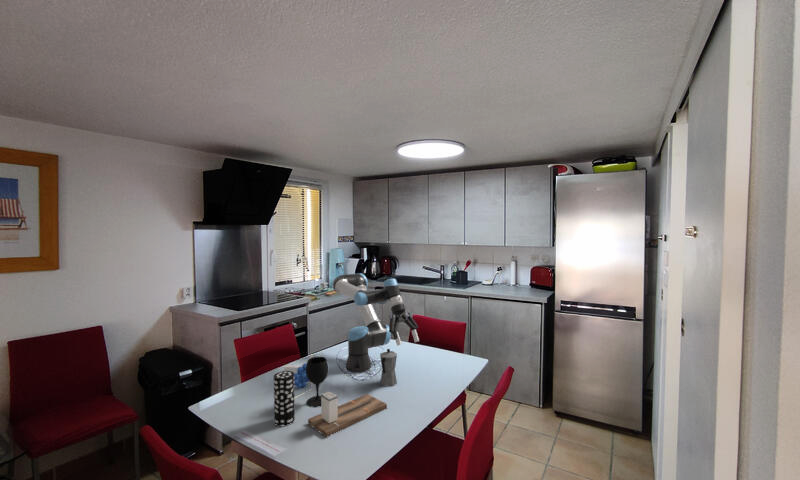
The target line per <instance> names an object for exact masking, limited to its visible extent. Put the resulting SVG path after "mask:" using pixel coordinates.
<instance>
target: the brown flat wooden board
mask: <svg viewBox="0 0 800 480" xmlns="http://www.w3.org/2000/svg"><path fill="white" fill-rule="evenodd" d="M337 406H338V420H336V421H334V422H331V423H328V422H327V421H325V420H324V419H322V415H321V413H319V414H317V415H314V416H313V417H310V418H308V419H307V423H309V424H310V427H312V426H313V427H314V428H313V427H312V428H313V429H314V430H316V429H317V430H318V431H317V430H316V431H317V432H319V431H320V432H321V433H322V434H323V435H322V434H321V433H320V432H319V433H320V434H321V435H322V436H324V435H325V436H326V437H327V436H329V437H331V436H332V435H331V434H333V435H335V434H337V433H339V432H341V431H343V430H345V429H348V428H349V427H351V426H354V425H355V424H357V423H359V422H361V421H364V420H366V419H367V418H369V417H371V416H373V415H377V414H378V413H380V412H383V411H385V410H386V409H387V408H388V404H387V403H386V402H383V401H382V400H380V399H378V398H376V397H375V396H372V395H370V394H368V393H366V394H364V395H360V397H357V398H355V399H352V400H350V401H347V402H345V403H342V404H341V405H337ZM309 424H308V425H309ZM342 429H343V430H342ZM340 430H341V431H340ZM338 431H339V432H338ZM336 432H337V433H336ZM334 433H335V434H334ZM330 435H331V436H330ZM325 436H324V437H325ZM326 437H325V438H326ZM327 438H328V437H327Z"/></svg>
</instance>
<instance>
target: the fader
mask: <svg viewBox="0 0 800 480" xmlns="http://www.w3.org/2000/svg"><path fill="white" fill-rule="evenodd" d="M320 396H321V406H320V407H321V409H320V410H321V413H320V414H321V415H322V419H324V420H325V421H327V422H328V423H331V422H334V421H336V420H338V406H339V405H338V398H339V397H338V395H336V394H335V393H334V392H331V391H330V390H329V391H326V392H324V393H321V394H320Z"/></svg>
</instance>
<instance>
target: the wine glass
mask: <svg viewBox="0 0 800 480" xmlns="http://www.w3.org/2000/svg"><path fill="white" fill-rule="evenodd" d="M306 363H307V365H306V376H307V378H308V380H309V382H310V383H311V384H313V385H314V386H315V390H316V395H315V396H312V397H310V398H308V399H307V400H306V402H305V403H306V405H307V406H308V405H309V407H311V406H313V407H312V408H318V407H317V406H320V407H321V395H319V388H320V385H321V384H322V383H324V381H326V379H327V377H328V375H329V363H328V360H327V358H326V357H325V356H313V357H310V358H309V359H308V360H307V361H306Z"/></svg>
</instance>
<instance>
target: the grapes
mask: <svg viewBox="0 0 800 480" xmlns="http://www.w3.org/2000/svg"><path fill="white" fill-rule="evenodd" d="M306 365H307V362H305V363H303V364H302V365H299V366H300V367H298V369H297V372H298V373H295V374H294V386H295V387H296V389H300V388H301V387H302V388H304V387H306V386H307V384H308V383H309V382H310V381H309V380H308V378H307V376H306ZM301 366H302V367H301Z"/></svg>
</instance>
